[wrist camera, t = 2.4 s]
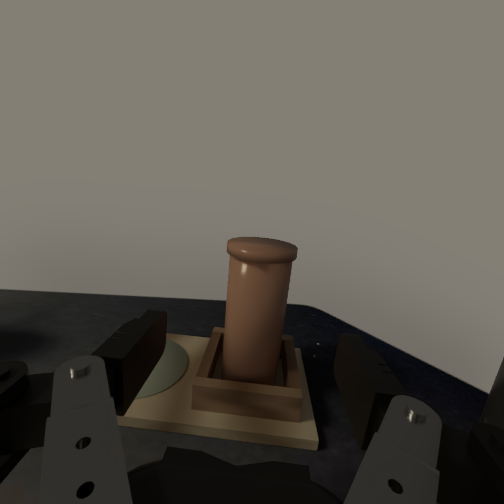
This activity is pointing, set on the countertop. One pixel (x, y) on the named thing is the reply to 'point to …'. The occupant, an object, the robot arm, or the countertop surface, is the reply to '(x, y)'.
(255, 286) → the tall brown tankard
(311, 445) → the board
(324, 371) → the countertop surface
